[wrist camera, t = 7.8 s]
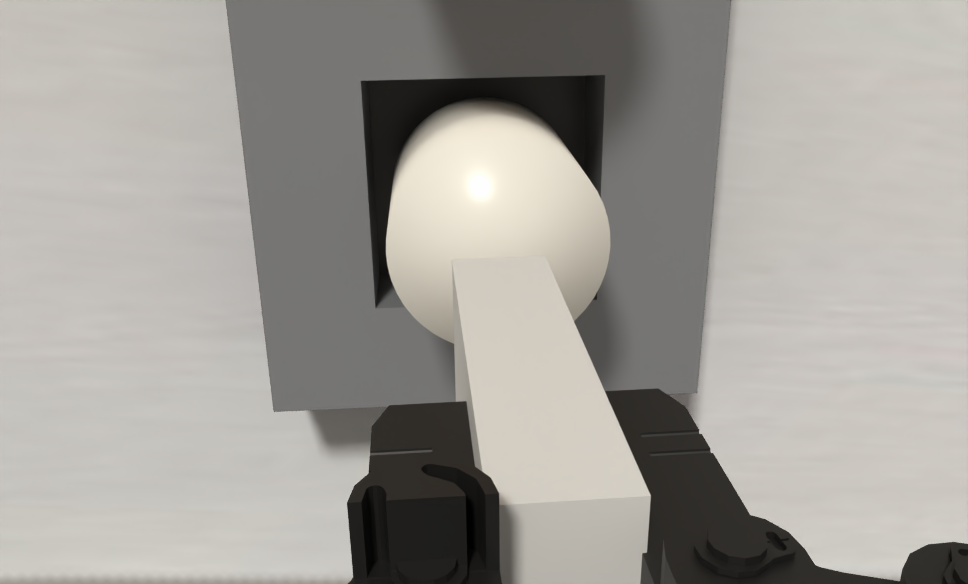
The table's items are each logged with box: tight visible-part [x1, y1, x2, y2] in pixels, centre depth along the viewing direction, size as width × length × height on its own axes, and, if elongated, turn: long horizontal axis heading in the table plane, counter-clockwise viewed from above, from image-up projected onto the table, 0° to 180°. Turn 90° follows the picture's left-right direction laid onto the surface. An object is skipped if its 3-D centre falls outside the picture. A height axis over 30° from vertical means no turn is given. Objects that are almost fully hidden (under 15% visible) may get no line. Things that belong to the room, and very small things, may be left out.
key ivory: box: [386, 97, 610, 344], centre depth 21 cm, size 5×5×5 cm
